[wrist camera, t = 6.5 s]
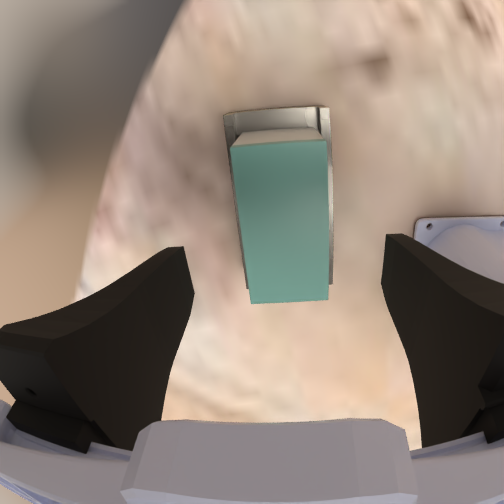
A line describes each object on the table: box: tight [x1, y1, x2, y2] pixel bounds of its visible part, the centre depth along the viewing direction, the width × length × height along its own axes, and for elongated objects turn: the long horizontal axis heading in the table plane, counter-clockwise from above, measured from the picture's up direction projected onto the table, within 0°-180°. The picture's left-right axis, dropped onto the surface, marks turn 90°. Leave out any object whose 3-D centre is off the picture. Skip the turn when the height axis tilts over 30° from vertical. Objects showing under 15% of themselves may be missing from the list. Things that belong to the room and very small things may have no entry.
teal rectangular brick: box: [230, 127, 329, 304], centre depth 17 cm, size 4×8×5 cm, turn 7°
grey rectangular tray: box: [223, 106, 333, 289], centre depth 19 cm, size 6×11×2 cm, turn 6°
